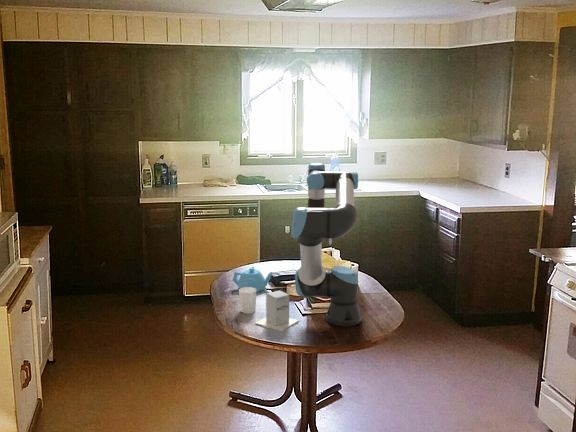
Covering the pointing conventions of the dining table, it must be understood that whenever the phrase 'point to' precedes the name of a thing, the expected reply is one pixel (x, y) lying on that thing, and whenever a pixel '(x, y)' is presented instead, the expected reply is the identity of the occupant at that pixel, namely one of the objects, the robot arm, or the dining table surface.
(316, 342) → the dining table surface
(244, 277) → the teapot
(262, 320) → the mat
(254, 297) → the white cup
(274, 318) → the supplement box
